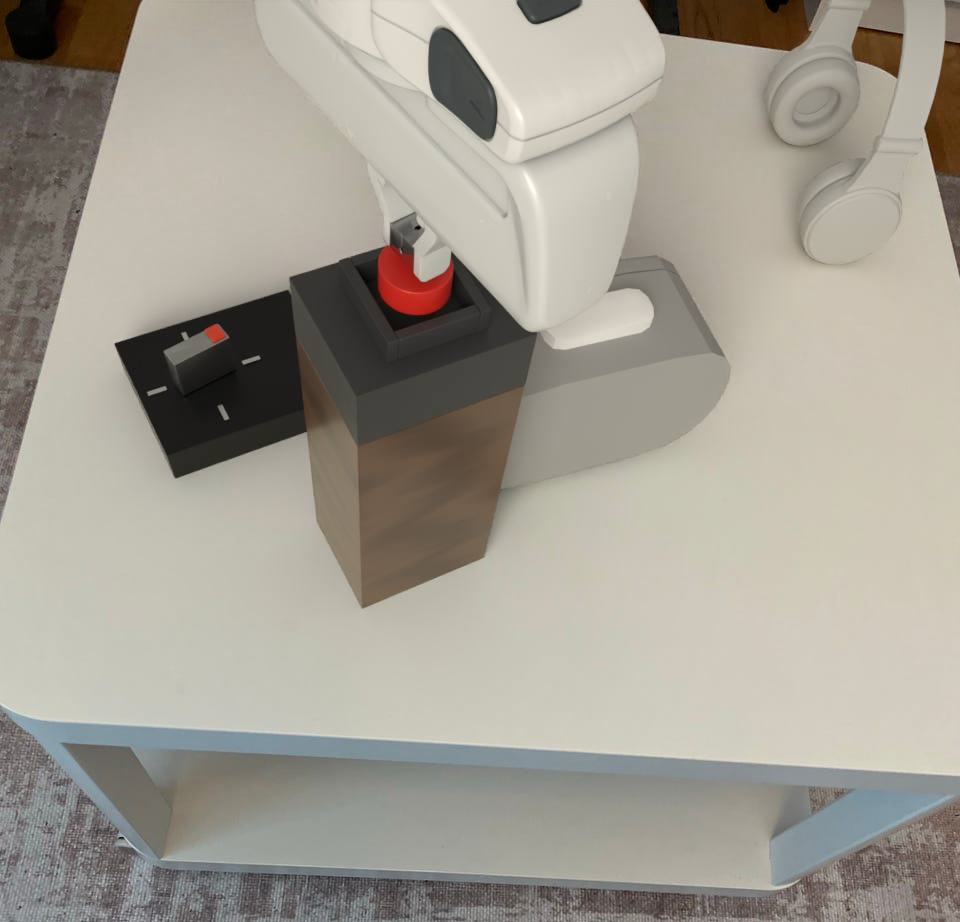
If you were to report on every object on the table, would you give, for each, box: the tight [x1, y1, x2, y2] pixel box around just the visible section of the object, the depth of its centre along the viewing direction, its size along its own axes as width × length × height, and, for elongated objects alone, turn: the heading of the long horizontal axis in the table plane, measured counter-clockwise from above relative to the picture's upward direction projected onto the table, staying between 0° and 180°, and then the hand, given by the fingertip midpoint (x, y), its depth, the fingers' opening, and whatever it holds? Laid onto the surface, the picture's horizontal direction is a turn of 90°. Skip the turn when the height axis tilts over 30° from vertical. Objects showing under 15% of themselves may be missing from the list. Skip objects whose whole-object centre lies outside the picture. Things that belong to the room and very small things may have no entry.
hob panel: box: [113, 289, 307, 479], centre depth 70 cm, size 14×11×3 cm
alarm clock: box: [500, 254, 732, 490], centre depth 67 cm, size 21×10×13 cm, turn 110°
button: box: [378, 244, 454, 315], centre depth 44 cm, size 4×4×2 cm
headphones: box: [763, 0, 947, 265], centre depth 78 cm, size 20×8×19 cm, turn 4°
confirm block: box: [288, 245, 537, 446], centre depth 47 cm, size 10×8×5 cm
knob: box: [164, 324, 236, 396], centre depth 66 cm, size 4×2×4 cm, turn 128°
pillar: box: [296, 335, 525, 609], centre depth 58 cm, size 10×8×20 cm
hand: (416, 257), depth 43 cm, fingers closed
